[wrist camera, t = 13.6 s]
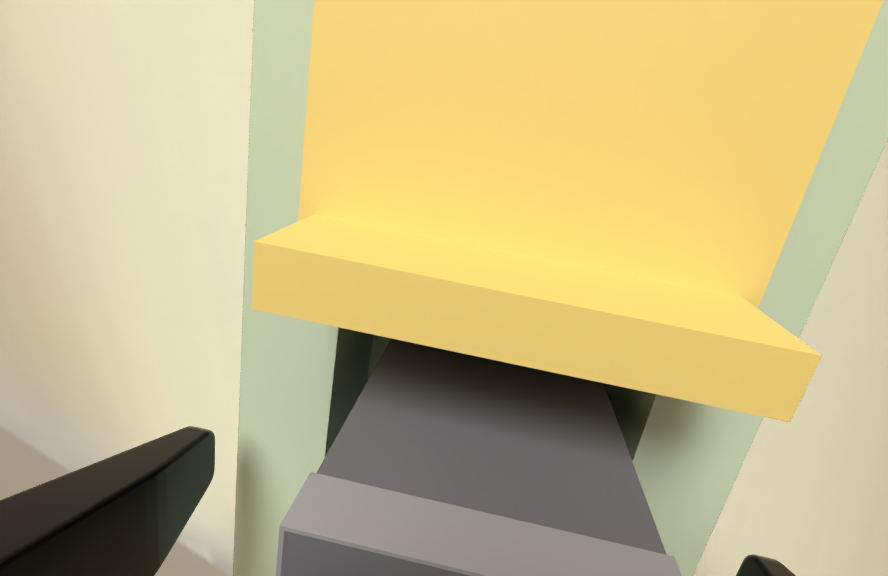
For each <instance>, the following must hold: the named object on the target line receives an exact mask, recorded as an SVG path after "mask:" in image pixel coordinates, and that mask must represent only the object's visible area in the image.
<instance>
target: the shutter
mask: <svg viewBox="0 0 888 576" xmlns="http://www.w3.org/2000/svg"><path fill="white" fill-rule="evenodd" d="M883 1H884V0H314V6H313V20H312V34H311V48H310V61H309V75H308V89H307V103H306V117H305V131H304V145H303V159H302V173H301V186H300V200H299V214H298V222H296V223H294V224H292V225H290V226H287V227H285V228H283V229H281V230H278V231H276V232H274V233H272V234H269V235H267V236H265V237H263V238H260V239H258V240H256V241H254V254H253V278H252V301H251V309H254V310H259V311H264V312H268V313H273V314H278V315H283V316H287V317H292V318H297V319H302V320H306V321H311V322H316V323H321V324H325V325H330V326H335V327H340V328H344V329H349V330H354V331H359V332H363V333H368V334H373V335H378V336H382V337H387V338H392V339H397V340H401V341H406V342H411V343H416V344H420V345H425V346H430V347H435V348H439V349H444V350H449V351H454V352H458V353H463V354H468V355H473V356H477V357H482V358H487V359H492V360H496V361H501V362H506V363H510V364H515V365H520V366H525V367H529V368H534V369H539V370H544V371H548V372H553V373H558V374H563V375H567V376H572V377H577V378H582V379H586V380H591V381H596V382H601V383H605V384H610V385H615V386H620V387H624V388H629V389H634V390H639V391H643V392H648V393H653V394H658V395H662V396H667V397H672V398H677V399H681V400H686V401H691V402H696V403H700V404H705V405H710V406H715V407H719V408H724V409H729V410H734V411H738V412H743V413H748V414H753V415H757V416H762V417H767V418H772V419H776V420H781V421H786V422H791V420H792V418H793V416H794V414H795V411H796V409H797V407H798V405H799V403H800V401H801V399H802V397H803V394H804V392H805V390H806V388H807V386H808V384H809V382H810V380H811V377H812V375H813V373H814V371H815V369H816V367H817V365H818V363H819V360H820V358H821V356H822V355H820V354H819V353H818V352H816V351H815V350H813V349H812V348H811V347H809V346H808V345H807V344H805V343H804V342H802V341H801V340H800V339H798V338H797V337H796V336H794V335H793V334H792V333H790V332H789V331H787V330H786V329H785V328H783V327H782V326H781V325H779V324H778V323H776V322H775V321H774V320H772V319H771V318H770V317H768V316H767V315H765V314H764V313H763V312H761V311H760V310H759V309H758V307H759V305H760V302H761V300H762V297H763V295H764V292H765V290H766V287H767V285H768V283H769V280H770V278H771V275H772V273H773V270H774V268H775V265H776V263H777V260H778V258H779V256H780V253H781V251H782V248H783V246H784V243H785V241H786V238H787V236H788V233H789V231H790V229H791V226H792V224H793V221H794V219H795V216H796V214H797V211H798V209H799V207H800V204H801V202H802V199H803V197H804V194H805V192H806V189H807V187H808V184H809V182H810V180H811V177H812V175H813V172H814V170H815V167H816V165H817V162H818V160H819V158H820V155H821V153H822V150H823V148H824V145H825V143H826V140H827V138H828V135H829V133H830V131H831V128H832V126H833V123H834V121H835V118H836V116H837V113H838V111H839V108H840V106H841V104H842V101H843V99H844V96H845V94H846V91H847V89H848V86H849V84H850V82H851V79H852V77H853V74H854V72H855V69H856V67H857V64H858V62H859V59H860V57H861V55H862V52H863V50H864V47H865V45H866V42H867V40H868V37H869V35H870V33H871V30H872V28H873V25H874V23H875V20H876V18H877V15H878V13H879V10H880V8H881V6H882V3H883Z"/></svg>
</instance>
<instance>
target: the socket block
mask: <svg viewBox="0 0 888 576" xmlns="http://www.w3.org/2000/svg"><path fill="white" fill-rule="evenodd" d="M313 6H314V0H254V18H253V45H252V72H251V99H250V127H249V154H248V181H247V208H246V236H245V263H244V290H243V317H242V344H241V372H240V399H239V426H238V453H237V481H236V508H235V535H234V562H233V576H276V566H277V553H278V540H279V527H280V524H281V522H282V520H283V519H284V517H285V515H286V514H287V512H288V510H289V508H290V507H291V505H292V503H293V501H294V500H295V498H296V496H297V494H298V493H299V491H300V489H301V488H302V486H303V484H304V482H305V481H306V479H307V477H308V475H309V474H310V472H314V473H317V471H318V469H319V467H320V465H321V464H322V462H323V460H324V458H325V457H326V455H327V453H328V451H329V449H330V448H331V446H332V444H333V442H334V440H335V439H336V437H337V435H338V433H339V431H340V430H341V428H342V426H343V424H344V422H345V421H346V419H347V417H348V415H349V414H350V412H351V410H352V408H353V406H354V405H355V403H356V401H357V399H358V397H359V396H360V394H361V392H362V390H363V388H364V387H365V385H366V383H367V381H368V379H369V378H370V376H371V374H372V372H373V371H374V369H375V367H376V365H377V363H378V362H379V360H380V358H381V356H382V354H383V353H384V351H385V349H386V347H387V345H388V344H389V342H390V340H391V338H387V337H382V336H378V335H373V334H368V333H363V332H359V331H354V330H349V329H344V328H340V327H335V326H330V325H325V324H321V323H316V322H311V321H306V320H302V319H297V318H292V317H287V316H283V315H278V314H273V313H268V312H264V311H259V310H254V309H251V301H252V278H253V254H254V241H256V240H258V239H260V238H263V237H265V236H267V235H269V234H272V233H274V232H276V231H278V230H281V229H283V228H285V227H287V226H290V225H292V224H294V223H296V222H298V214H299V200H300V186H301V173H302V159H303V145H304V131H305V117H306V103H307V89H308V75H309V61H310V48H311V34H312V20H313ZM887 140H888V0H884V1H883V3H882V6H881V8H880V10H879V13H878V15H877V18H876V20H875V23H874V25H873V28H872V30H871V33H870V35H869V37H868V40H867V42H866V45H865V47H864V50H863V52H862V55H861V57H860V59H859V62H858V64H857V67H856V69H855V72H854V74H853V77H852V79H851V82H850V84H849V86H848V89H847V91H846V94H845V96H844V99H843V101H842V104H841V106H840V108H839V111H838V113H837V116H836V118H835V121H834V123H833V126H832V128H831V131H830V133H829V135H828V138H827V140H826V143H825V145H824V148H823V150H822V153H821V155H820V158H819V160H818V162H817V165H816V167H815V170H814V172H813V175H812V177H811V180H810V182H809V184H808V187H807V189H806V192H805V194H804V197H803V199H802V202H801V204H800V207H799V209H798V211H797V214H796V216H795V219H794V221H793V224H792V226H791V229H790V231H789V233H788V236H787V238H786V241H785V243H784V246H783V248H782V251H781V253H780V256H779V258H778V260H777V263H776V265H775V268H774V270H773V273H772V275H771V278H770V280H769V283H768V285H767V287H766V290H765V292H764V295H763V297H762V300H761V302H760V305H759V307H758V309H759V310H760V311H761V312H763V313H764V314H765V315H767V316H768V317H770V318H771V319H772V320H774V321H775V322H776V323H778V324H779V325H781V326H782V327H783V328H785V329H786V330H787V331H789V332H790V333H792V334H793V335H794V336H796V337H797V338H798V339H799V336H800V334H801V332H802V330H803V328H804V325H805V323H806V321H807V319H808V316H809V314H810V312H811V310H812V307H813V305H814V303H815V301H816V298H817V296H818V294H819V292H820V290H821V287H822V285H823V283H824V281H825V278H826V276H827V274H828V272H829V269H830V267H831V265H832V263H833V260H834V258H835V256H836V254H837V251H838V249H839V247H840V245H841V243H842V240H843V238H844V236H845V234H846V231H847V229H848V227H849V225H850V222H851V220H852V218H853V216H854V213H855V211H856V209H857V207H858V205H859V202H860V200H861V198H862V196H863V193H864V191H865V189H866V187H867V184H868V182H869V180H870V178H871V175H872V173H873V171H874V169H875V166H876V164H877V162H878V160H879V158H880V155H881V153H882V151H883V149H884V146H885V144H886V142H887ZM604 386H605V389H606V391H607V394H608V397H609V400H610V402H611V405H612V408H613V410H614V413H615V416H616V419H617V421H618V424H619V427H620V429H621V432H622V435H623V438H624V440H625V443H626V446H627V448H628V451H629V454H630V457H631V459H632V462H633V465H634V467H635V470H636V473H637V476H638V478H639V481H640V484H641V486H642V489H643V492H644V495H645V497H646V500H647V503H648V505H649V508H650V511H651V514H652V516H653V519H654V522H655V524H656V527H657V530H658V533H659V535H660V538H661V541H662V543H663V546H664V549H665V552H666V554H667V555H670V556H674V557H675V560H676V562H677V565H678V567H679V570H680V573H681V575H682V576H693V574H694V571H695V569H696V567H697V565H698V562H699V560H700V558H701V556H702V553H703V551H704V549H705V547H706V545H707V542H708V540H709V538H710V536H711V533H712V531H713V529H714V527H715V524H716V522H717V520H718V518H719V515H720V513H721V511H722V509H723V506H724V504H725V502H726V500H727V498H728V495H729V493H730V491H731V489H732V486H733V484H734V482H735V480H736V477H737V475H738V473H739V471H740V468H741V466H742V464H743V462H744V460H745V457H746V455H747V453H748V451H749V448H750V446H751V444H752V442H753V439H754V437H755V435H756V433H757V430H758V428H759V426H760V424H761V421H762V419H763V417H762V416H757V415H753V414H748V413H743V412H738V411H734V410H729V409H724V408H719V407H715V406H710V405H705V404H700V403H696V402H691V401H686V400H681V399H677V398H672V397H667V396H662V395H658V394H653V393H648V392H643V391H639V390H634V389H629V388H624V387H620V386H615V385H610V384H605V383H604Z"/></svg>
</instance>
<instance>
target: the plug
mask: <svg viewBox="0 0 888 576" xmlns="http://www.w3.org/2000/svg"><path fill="white" fill-rule="evenodd" d="M276 576H682V575H681V573H680V570H679V567H678V565H677V562H676V560H675V557H674V556H670V555H667V554H666V552H665V549H664V546H663V543H662V541H661V538H660V535H659V533H658V530H657V527H656V524H655V522H654V519H653V516H652V514H651V511H650V508H649V505H648V503H647V500H646V497H645V495H644V492H643V489H642V486H641V484H640V481H639V478H638V476H637V473H636V470H635V467H634V465H633V462H632V459H631V457H630V454H629V451H628V448H627V446H626V443H625V440H624V438H623V435H622V432H621V429H620V427H619V424H618V421H617V419H616V416H615V413H614V410H613V408H612V405H611V402H610V400H609V397H608V394H607V391H606V389H605V386H604V383H601V382H596V381H591V380H586V379H582V378H577V377H572V376H567V375H563V374H558V373H553V372H548V371H544V370H539V369H534V368H529V367H525V366H520V365H515V364H510V363H506V362H501V361H496V360H492V359H487V358H482V357H477V356H473V355H468V354H463V353H458V352H454V351H449V350H444V349H439V348H435V347H430V346H425V345H420V344H416V343H411V342H406V341H401V340H397V339H392V338H391V340H390V342H389V344H388V345H387V347H386V349H385V351H384V353H383V354H382V356H381V358H380V360H379V362H378V363H377V365H376V367H375V369H374V371H373V372H372V374H371V376H370V378H369V379H368V381H367V383H366V385H365V387H364V388H363V390H362V392H361V394H360V396H359V397H358V399H357V401H356V403H355V405H354V406H353V408H352V410H351V412H350V414H349V415H348V417H347V419H346V421H345V422H344V424H343V426H342V428H341V430H340V431H339V433H338V435H337V437H336V439H335V440H334V442H333V444H332V446H331V448H330V449H329V451H328V453H327V455H326V457H325V458H324V460H323V462H322V464H321V465H320V467H319V469H318V471H317V473H314V472H310V474H309V475H308V477H307V479H306V481H305V482H304V484H303V486H302V488H301V489H300V491H299V493H298V494H297V496H296V498H295V500H294V501H293V503H292V505H291V507H290V508H289V510H288V512H287V514H286V515H285V517H284V519H283V520H282V522H281V524H280V527H279V540H278V553H277V566H276Z"/></svg>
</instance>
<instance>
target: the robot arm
mask: <svg viewBox="0 0 888 576" xmlns="http://www.w3.org/2000/svg"><path fill="white" fill-rule="evenodd" d="M214 467H215V436H214V433H213V432H212V431H210V430H207V429H203V428H198V427H193V426H189V427H186V428H183V429H180V430H178V431H175V432H173V433H170V434H168V435H165V436H163V437H160V438H158V439H155V440H152V441H150V442H147V443H145V444H142V445H140V446H137V447H135V448H132V449H130V450H127V451H125V452H122V453H120V454H117V455H114V456H112V457H109V458H107V459H104V460H102V461H99V462H97V463H94V464H92V465H89V466H87V467H84V468H81V469H79V470H76V471H74V472H71V473H69V474H66V475H64V476H61V477H59V478H56V479H54V480H51V481H48V482H46V483H44V484H41V485H38V486H36V487H33V488H31V489H28V490H26V491H23V492H20V493H18V494H15V495H13V496H10V497H8V498H5V499H3V500H0V576H154V575H155V573H156V572H157V571H158V569H159V568H160V566H161V565H162V563H163V561H164V559H165V558H166V557H167V555H168V553H169V552H170V550H171V549H172V547H173V545H174V543H175V542H176V540H177V538H178V537H179V535H180V533H181V532H182V530H183V528H184V527H185V525H186V523H187V522H188V520H189V518H190V517H191V515H192V513H193V512H194V510H195V508H196V506H197V505H198V503H199V501H200V500H201V498H202V496H203V495H204V493H205V491H206V490H207V488H208V486H209V484H210V483H211V480H212V478H213V474H214ZM736 576H795V575H794V574H793V573H792V572H791V571H790V570H788V569H787V568H786V567H785V566H784V565H783V564H781V563H780V562H779V561H777V560H774V559H771V558H767V557H762V556H758V555H748V556H747V557H746V558H745V559H744V560H743V562H742V564H741V567H740V569H739V571H738V573H737V575H736Z"/></svg>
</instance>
